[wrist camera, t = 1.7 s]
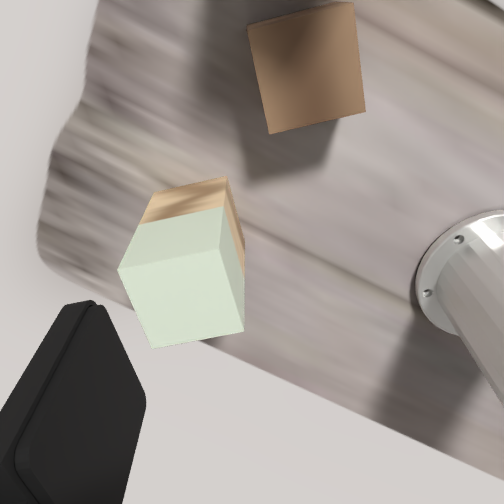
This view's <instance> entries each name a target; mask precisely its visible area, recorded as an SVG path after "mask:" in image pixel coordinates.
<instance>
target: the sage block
mask: <svg viewBox="0 0 504 504" xmlns="http://www.w3.org/2000/svg"><path fill="white" fill-rule="evenodd" d="M117 271H118V273H119V275H120V278H121V280H122V282H123V285H124V287H125V289H126V291H127V294H128V296H129V298H130V301H131V303H132V305H133V307H134V310H135V312H136V314H137V316H138V319H139V321H140V323H141V325H142V328H143V330H144V332H145V335H146V337H147V339H148V341H149V344H150V346H151V348H152V349H156V348H161V347H166V346H171V345H176V344H182V343H187V342H192V341H197V340H203V339H208V338H213V337H218V336H224V335H229V334H234V333H239V332H244V282H245V280H244V276H243V273H242V269H241V265H240V262H239V258H238V255H237V251H236V248H235V244H234V241H233V237H232V234H231V230H230V227H229V223H228V220H227V216H226V213H225V209H224V206H222V207H217V208H213V209H208V210H204V211H199V212H194V213H190V214H185V215H181V216H176V217H172V218H167V219H163V220H158V221H154V222H149V223H145V224H140V225H138V227H137V230H136V232H135V234H134V236H133V238H132V240H131V242H130V244H129V246H128V249H127V251H126V253H125V255H124V257H123V259H122V261H121V263H120V265H119V268H118V270H117Z"/></svg>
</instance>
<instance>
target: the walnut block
mask: <svg viewBox="0 0 504 504" xmlns="http://www.w3.org/2000/svg"><path fill="white" fill-rule="evenodd" d="M247 34H248V38H249V43H250V48H251V52H252V57H253V61H254V66H255V71H256V75H257V80H258V84H259V89H260V94H261V98H262V103H263V108H264V112H265V117H266V121H267V126H268V131H269V134H274V133H278V132H282V131H286V130H291V129H295V128H299V127H303V126H308V125H312V124H316V123H320V122H325V121H329V120H333V119H337V118H342V117H346V116H350V115H354V114H359V113H363V112H366V110H365V101H364V92H363V83H362V75H361V66H360V57H359V48H358V39H357V30H356V21H355V12H354V3H349V2H333V3H329V4H325V5H321V6H317V7H313V8H310V9H306V10H302V11H298V12H294V13H291V14H287V15H283V16H279V17H275V18H271V19H268V20H264V21H260V22H256V23H252V24H249V25H247Z"/></svg>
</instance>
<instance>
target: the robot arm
mask: <svg viewBox="0 0 504 504" xmlns="http://www.w3.org/2000/svg"><path fill="white" fill-rule="evenodd" d="M415 292H416V296H417V300H418V303H419V305H420V307H421V309H422V311H423V313H424V314H425V315H426V317H427V318H428V319H429V321H430V322H432V323H433V324H434V325H435V326H436V327H438V328H439V329H441V330H443V331H445V332H447V333H450V334H453V335H456V336H460V338H461V340H462V341H463V343H464V344H465V346H466V348H467V349H468V351H469V352H470V354H471V356H472V357H473V359H474V360H475V362H476V364H477V365H478V367H479V368H480V370H481V372H482V373H483V375H484V376H485V378H486V380H487V381H488V383H489V384H490V386H491V388H492V389H493V391H494V392H495V394H496V396H497V397H498V399H499V400H500V402H501V404H502V405H503V407H504V210H495V211H490V212H485V213H481V214H478V215H475V216H473V217H470V218H467V219H465V220H463V221H462V222H460V223H458V224H456V225H454V226H453V227H451V228H450V229H449V230H447V231H446V232H445V233H444V234H442V235H441V236H440V237H439V238H438V239H437V240H436V241H435V242H434V243H433V244H432V245H431V246H430V248H429V249H428V251H427V252H426V254H425V255H424V257H423V259H422V261H421V263H420V265H419V268H418V271H417V275H416V280H415ZM145 410H146V396H145V392H144V390H143V388H142V386H141V383H140V381H139V379H138V377H137V375H136V373H135V371H134V368H133V366H132V364H131V362H130V360H129V358H128V355H127V354H126V351H125V350H124V347H123V345H122V343H121V341H120V338H119V336H118V334H117V332H116V330H115V327H114V325H113V323H112V321H111V319H110V317H109V314H108V312H107V310H106V309H105V307H104V306H103V305H97V304H96V303H95V302H94V301H92V300H88V301H83V302H77V303H73V304H67V305H65V306H64V307H63V308H62V309H61V311H60V313H59V314H58V316H57V318H56V320H55V321H54V323H53V325H52V326H51V328H50V330H49V331H48V333H47V335H46V336H45V338H44V339H43V341H42V343H41V344H40V346H39V348H38V350H37V351H36V353H35V355H34V356H33V358H32V359H31V361H30V363H29V365H28V366H27V368H26V369H25V371H24V373H23V374H22V376H21V378H20V379H19V381H18V383H17V384H16V386H15V388H14V390H13V391H12V393H11V394H10V396H9V398H8V399H7V401H6V403H5V405H4V406H3V408H2V409H1V411H0V504H122V502H123V498H124V494H125V490H126V486H127V482H128V478H129V474H130V470H131V466H132V462H133V457H134V454H135V450H136V446H137V442H138V438H139V433H140V429H141V426H142V422H143V418H144V414H145Z"/></svg>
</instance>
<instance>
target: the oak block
mask: <svg viewBox="0 0 504 504" xmlns="http://www.w3.org/2000/svg"><path fill="white" fill-rule="evenodd" d="M222 206H224V209H225V213H226V216H227V220H228V223H229V227H230V230H231V234H232V237H233V241H234V244H235V248H236V251H237V255H238V258H239V262H240V265H241V269H242V273H243V276H244V278H245V241H244V237H243V233H242V230H241V226H240V222H239V218H238V215H237V211H236V207H235V204H234V200H233V196H232V193H231V189H230V185H229V182H228V178H227V176H224V177H220V178H216V179H211V180H207V181H202V182H198V183H194V184H189V185H185V186H180V187H176V188H171V189H167V190H163V191H158V192H154V194H153V196H152V198H151V200H150V202H149V204H148V206H147V208H146V211H145V213H144V215H143V217H142V219H141V221H140V223H139V225H140V224H145V223H149V222H154V221H158V220H163V219H167V218H172V217H176V216H181V215H185V214H190V213H194V212H199V211H204V210H208V209H213V208H217V207H222Z"/></svg>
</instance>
